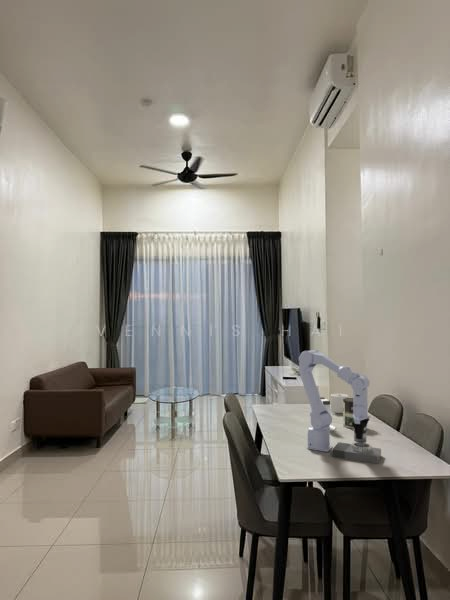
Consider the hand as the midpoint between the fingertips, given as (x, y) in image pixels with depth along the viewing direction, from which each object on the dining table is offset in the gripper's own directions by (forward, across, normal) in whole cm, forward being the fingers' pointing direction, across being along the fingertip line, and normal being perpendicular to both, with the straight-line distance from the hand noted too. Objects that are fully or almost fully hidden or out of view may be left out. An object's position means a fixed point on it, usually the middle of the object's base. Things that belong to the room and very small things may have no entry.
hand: (360, 437), depth 178 cm
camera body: (+8, +1, +2) cm, 9 cm away
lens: (+2, 0, 0) cm, 2 cm away
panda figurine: (+9, +38, +26) cm, 47 cm away
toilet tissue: (+9, +78, +27) cm, 83 cm away
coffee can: (+9, +49, +13) cm, 51 cm away
